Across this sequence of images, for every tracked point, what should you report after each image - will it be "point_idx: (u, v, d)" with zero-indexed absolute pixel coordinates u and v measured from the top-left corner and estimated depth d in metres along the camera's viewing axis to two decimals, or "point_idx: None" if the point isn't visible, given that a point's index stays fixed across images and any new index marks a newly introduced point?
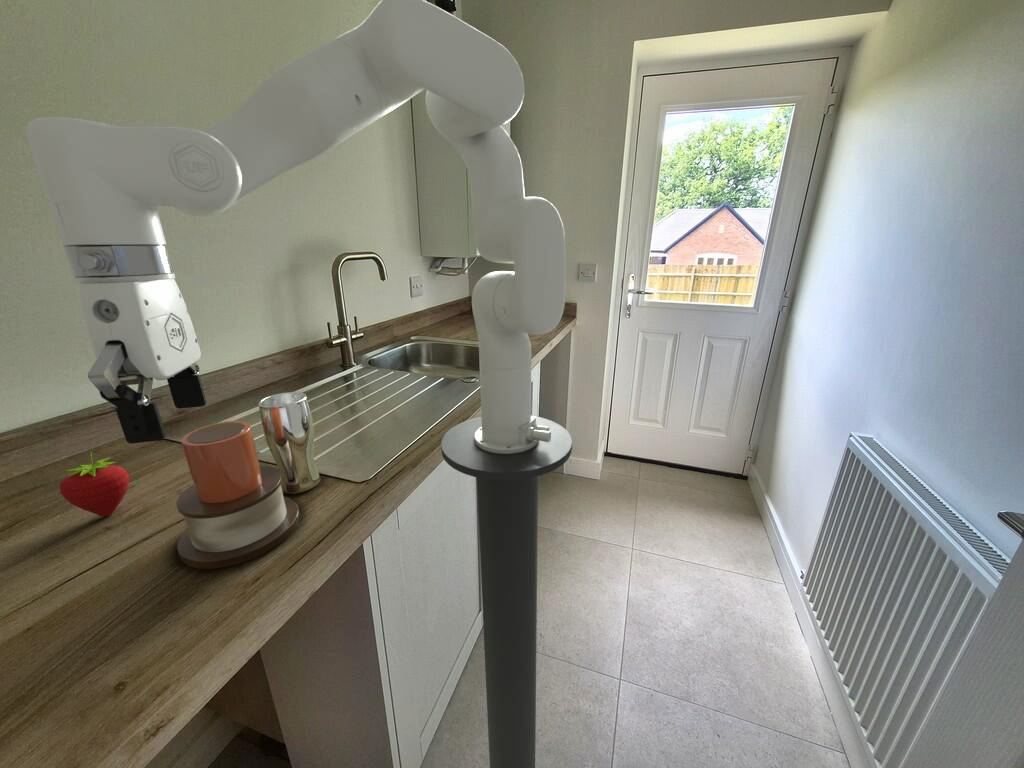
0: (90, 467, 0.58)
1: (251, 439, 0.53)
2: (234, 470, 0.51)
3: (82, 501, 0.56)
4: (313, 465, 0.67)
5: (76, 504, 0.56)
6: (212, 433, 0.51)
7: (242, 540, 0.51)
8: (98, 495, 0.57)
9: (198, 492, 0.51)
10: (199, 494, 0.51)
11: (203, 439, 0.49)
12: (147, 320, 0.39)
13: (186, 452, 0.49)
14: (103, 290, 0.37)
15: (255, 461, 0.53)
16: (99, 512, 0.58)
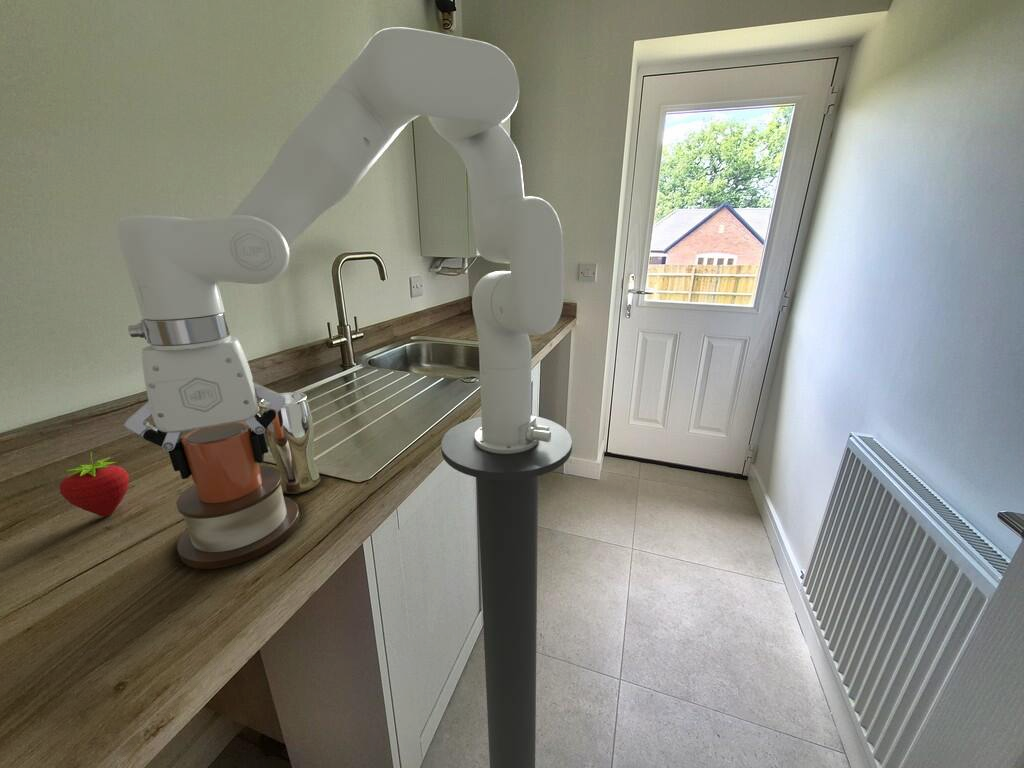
0: (90, 467, 0.58)
1: None
2: (234, 470, 0.51)
3: (82, 501, 0.56)
4: (313, 465, 0.67)
5: (76, 504, 0.56)
6: (212, 433, 0.51)
7: (242, 540, 0.51)
8: (98, 495, 0.57)
9: (198, 492, 0.51)
10: (199, 494, 0.51)
11: (203, 439, 0.49)
12: (153, 383, 0.45)
13: (186, 452, 0.49)
14: None
15: (255, 461, 0.53)
16: (99, 512, 0.58)
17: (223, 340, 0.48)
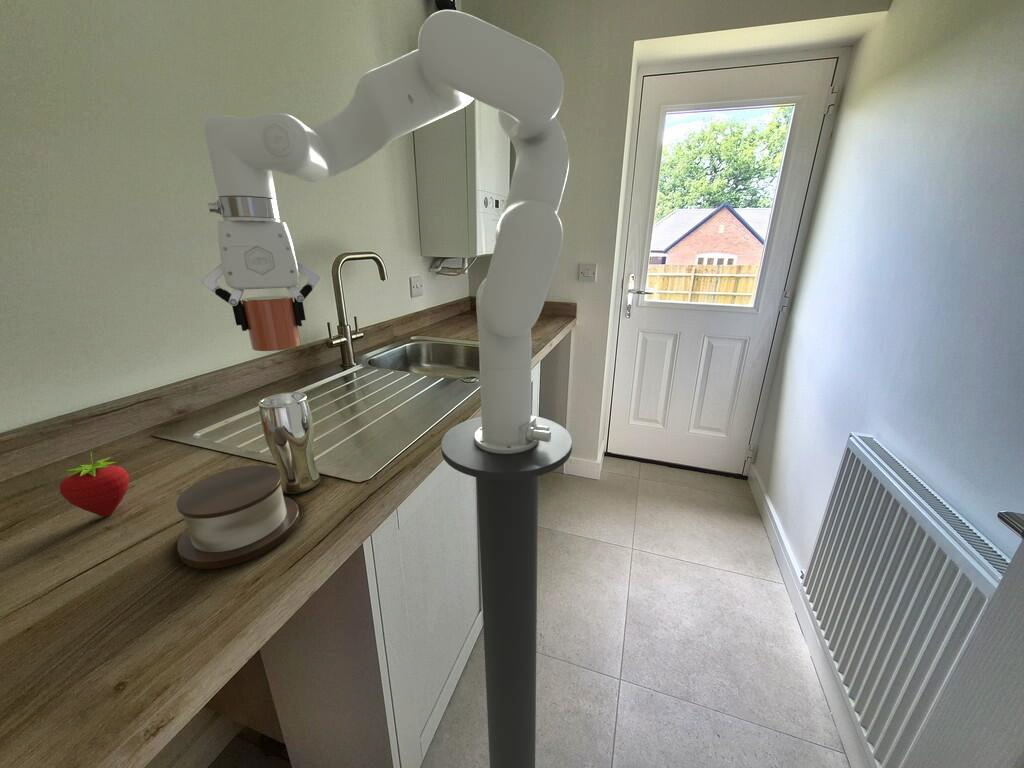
0: (90, 467, 0.58)
1: (293, 306, 0.68)
2: (281, 325, 0.66)
3: (82, 501, 0.56)
4: (313, 465, 0.67)
5: (76, 504, 0.56)
6: (264, 298, 0.66)
7: (242, 540, 0.51)
8: (98, 495, 0.57)
9: (253, 342, 0.66)
10: (254, 344, 0.66)
11: (259, 299, 0.65)
12: (226, 247, 0.60)
13: (246, 308, 0.64)
14: None
15: (296, 324, 0.68)
16: (99, 512, 0.58)
17: (276, 220, 0.63)
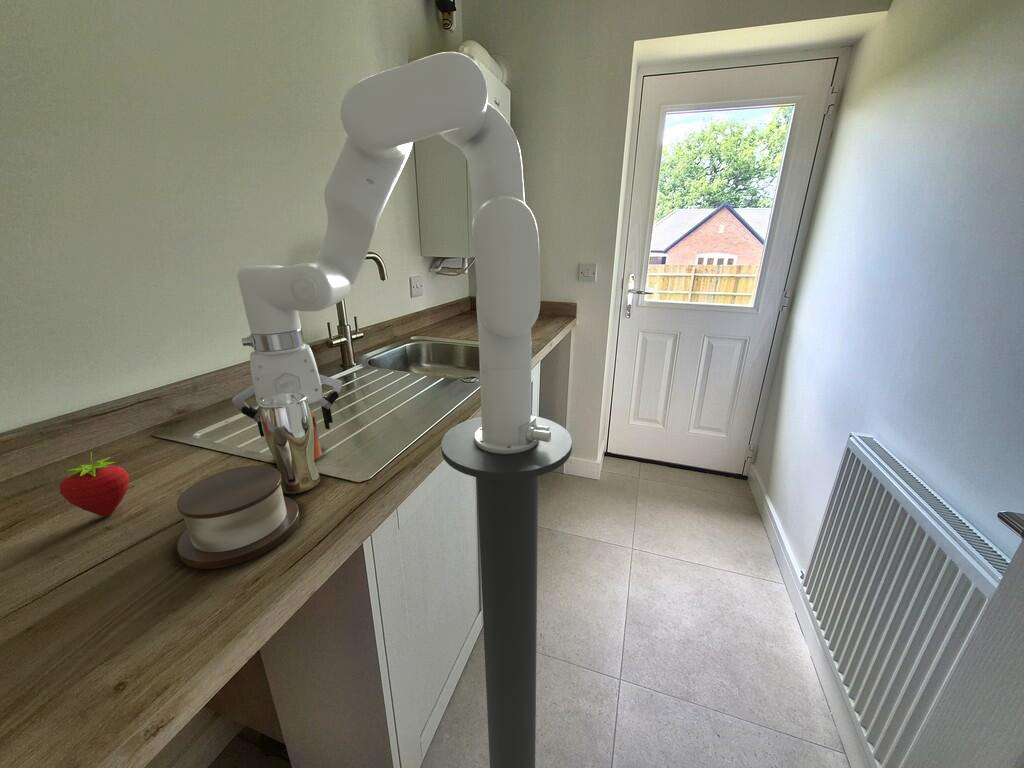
0: (90, 467, 0.58)
1: (315, 422, 0.75)
2: None
3: (82, 501, 0.56)
4: (313, 465, 0.67)
5: (76, 504, 0.56)
6: None
7: (242, 540, 0.51)
8: (98, 495, 0.57)
9: None
10: None
11: None
12: (258, 377, 0.67)
13: None
14: None
15: (317, 438, 0.76)
16: (99, 512, 0.58)
17: (301, 347, 0.69)
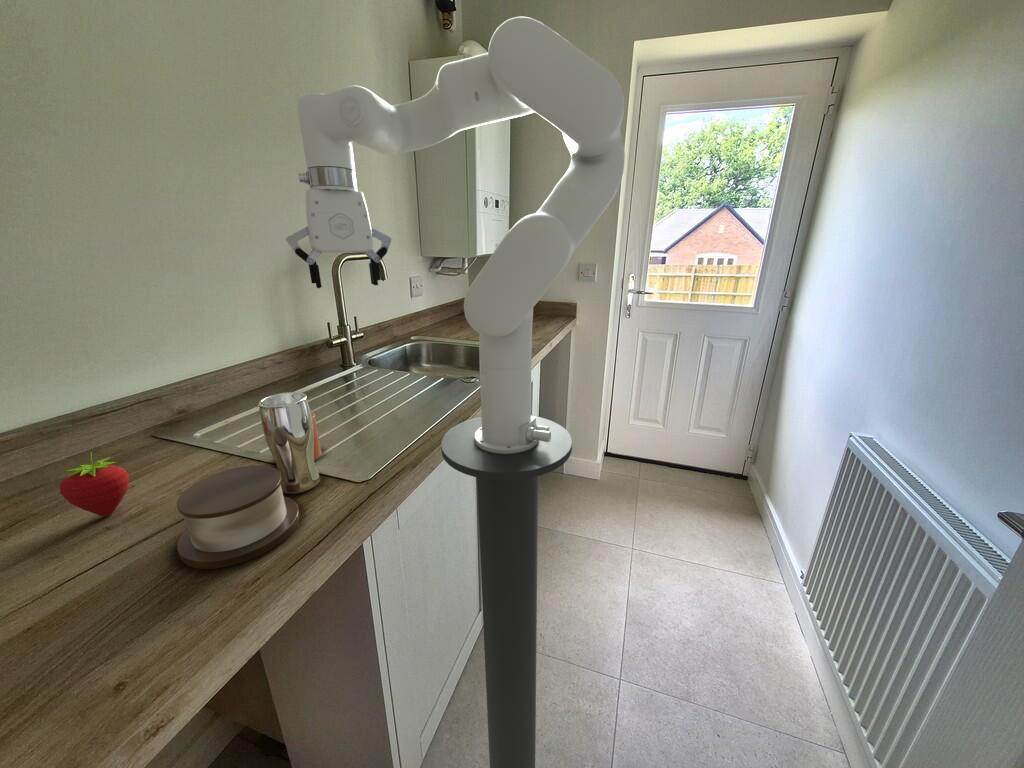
0: (90, 467, 0.58)
1: (315, 422, 0.75)
2: None
3: (82, 501, 0.56)
4: (313, 465, 0.67)
5: (76, 504, 0.56)
6: None
7: (242, 540, 0.51)
8: (98, 495, 0.57)
9: None
10: None
11: None
12: (314, 213, 0.67)
13: None
14: None
15: (317, 438, 0.76)
16: (99, 512, 0.58)
17: (356, 189, 0.69)
